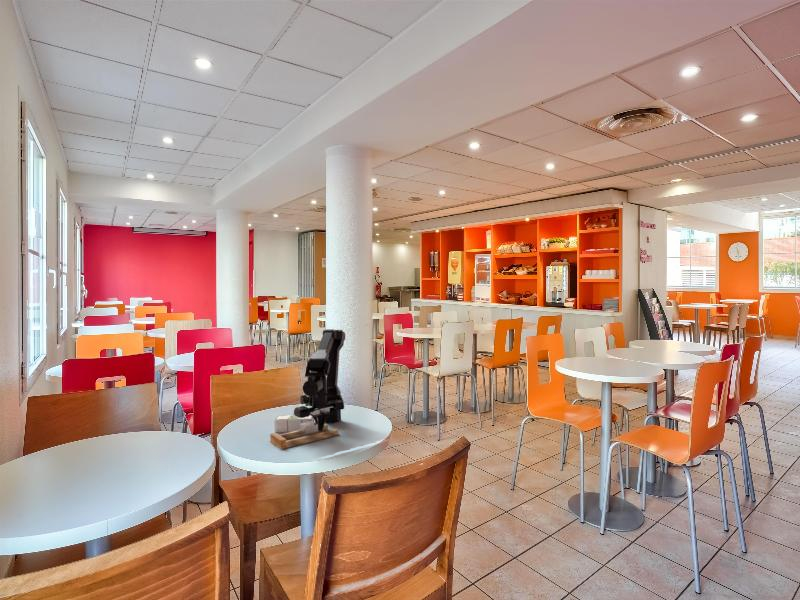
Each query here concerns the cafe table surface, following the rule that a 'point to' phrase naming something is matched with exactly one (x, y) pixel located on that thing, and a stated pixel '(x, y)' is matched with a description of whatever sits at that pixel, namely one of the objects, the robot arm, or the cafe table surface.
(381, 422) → the cafe table surface
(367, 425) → the cafe table surface
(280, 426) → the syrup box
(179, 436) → the cafe table surface
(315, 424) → the grey pink cube
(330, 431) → the brown shallow tray
